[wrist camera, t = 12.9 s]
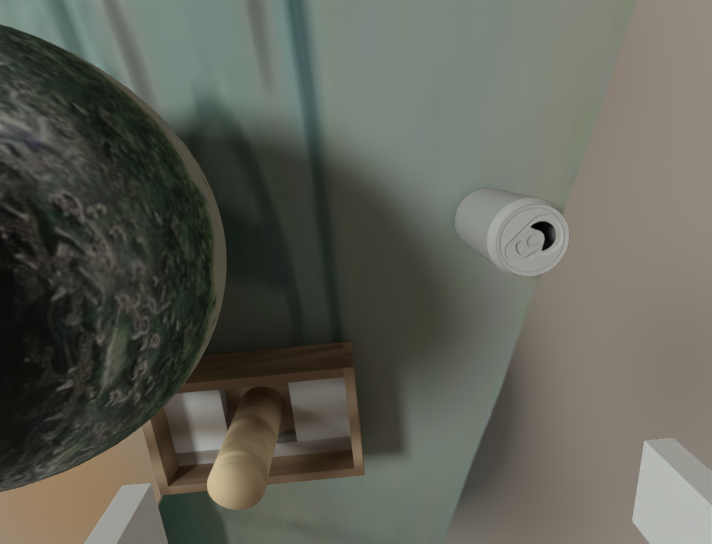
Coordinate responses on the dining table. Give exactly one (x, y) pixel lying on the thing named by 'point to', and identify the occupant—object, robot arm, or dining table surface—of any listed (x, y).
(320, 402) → the crate
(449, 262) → the dining table surface
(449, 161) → the dining table surface
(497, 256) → the beverage can
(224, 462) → the peg
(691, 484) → the robot arm
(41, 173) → the vase
